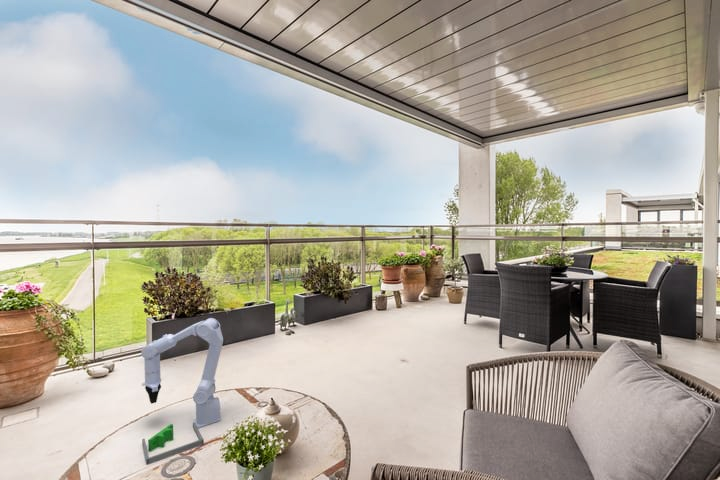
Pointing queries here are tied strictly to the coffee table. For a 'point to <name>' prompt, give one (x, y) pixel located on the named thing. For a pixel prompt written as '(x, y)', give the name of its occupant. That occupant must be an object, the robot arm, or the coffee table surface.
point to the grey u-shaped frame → (173, 451)
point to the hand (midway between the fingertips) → (153, 402)
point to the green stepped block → (161, 438)
